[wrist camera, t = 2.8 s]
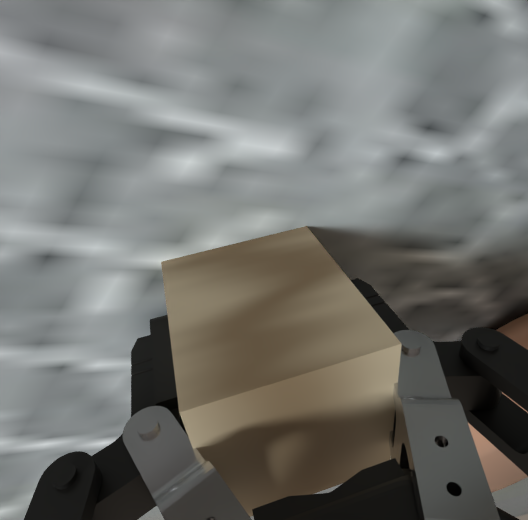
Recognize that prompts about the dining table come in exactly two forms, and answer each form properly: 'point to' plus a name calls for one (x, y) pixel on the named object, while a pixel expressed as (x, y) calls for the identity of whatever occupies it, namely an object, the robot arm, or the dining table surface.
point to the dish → (492, 460)
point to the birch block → (279, 366)
